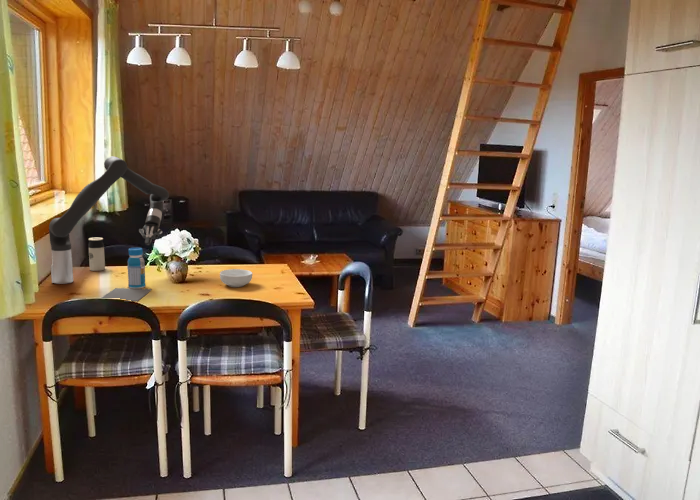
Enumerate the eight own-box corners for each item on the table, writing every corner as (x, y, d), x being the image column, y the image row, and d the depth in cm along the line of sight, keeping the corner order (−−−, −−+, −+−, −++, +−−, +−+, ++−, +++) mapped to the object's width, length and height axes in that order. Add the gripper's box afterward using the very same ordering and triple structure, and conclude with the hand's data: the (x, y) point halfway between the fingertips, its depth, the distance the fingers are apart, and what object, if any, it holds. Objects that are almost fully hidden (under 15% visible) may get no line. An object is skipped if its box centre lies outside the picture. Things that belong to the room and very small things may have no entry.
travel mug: (102, 267, 337) (100, 236, 334) (107, 270, 332) (105, 238, 328) (87, 269, 332) (86, 238, 329) (92, 271, 326) (91, 240, 323)
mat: (98, 300, 272) (98, 299, 272) (115, 289, 293) (115, 288, 293) (137, 301, 273) (137, 300, 273) (151, 290, 293) (151, 289, 293)
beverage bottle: (130, 289, 292) (129, 250, 288) (126, 286, 299) (124, 247, 295) (147, 287, 297) (146, 249, 293) (142, 284, 304) (141, 246, 300)
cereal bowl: (232, 291, 296) (232, 277, 295) (213, 285, 307) (213, 271, 306) (258, 285, 309) (258, 272, 307) (239, 280, 320) (239, 267, 318)
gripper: (140, 214, 319) (133, 240, 310) (164, 214, 320) (158, 240, 310) (143, 222, 325) (136, 248, 316) (167, 223, 326) (161, 248, 316)
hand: (147, 244), depth 313 cm, fingers closed
